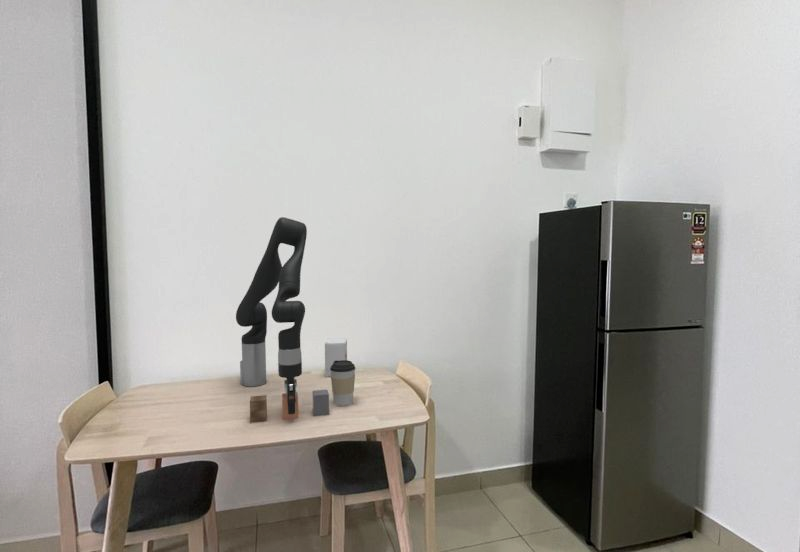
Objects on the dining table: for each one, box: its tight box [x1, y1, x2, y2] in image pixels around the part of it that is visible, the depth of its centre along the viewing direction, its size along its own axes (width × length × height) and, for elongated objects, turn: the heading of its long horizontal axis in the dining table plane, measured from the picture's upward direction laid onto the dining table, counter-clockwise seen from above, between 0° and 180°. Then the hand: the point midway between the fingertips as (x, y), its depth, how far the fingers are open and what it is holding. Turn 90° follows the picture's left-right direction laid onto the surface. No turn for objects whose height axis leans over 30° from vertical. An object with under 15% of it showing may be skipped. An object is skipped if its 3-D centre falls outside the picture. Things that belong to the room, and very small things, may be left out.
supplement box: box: [324, 338, 348, 378], centre depth 190 cm, size 9×9×15 cm
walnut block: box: [249, 394, 268, 424], centre depth 141 cm, size 5×5×7 cm
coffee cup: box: [330, 359, 356, 407], centre depth 155 cm, size 9×9×15 cm
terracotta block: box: [281, 392, 299, 420], centre depth 144 cm, size 5×5×7 cm
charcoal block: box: [312, 389, 330, 417], centre depth 146 cm, size 5×5×7 cm
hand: (291, 409), depth 144 cm, fingers open, 8 cm apart
